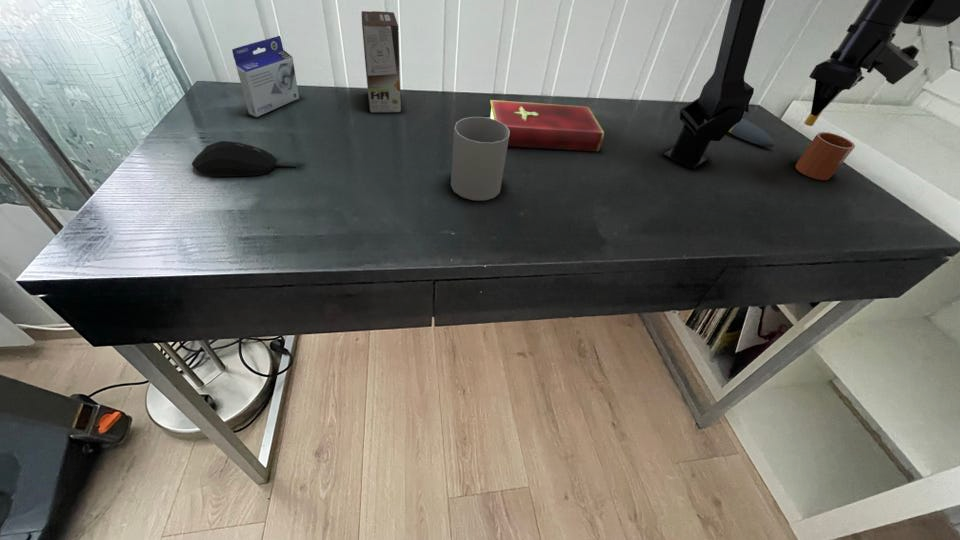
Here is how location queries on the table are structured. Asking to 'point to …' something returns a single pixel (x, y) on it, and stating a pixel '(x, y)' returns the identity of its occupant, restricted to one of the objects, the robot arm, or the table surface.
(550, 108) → the hardcover book
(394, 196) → the table surface
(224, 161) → the gaming mouse
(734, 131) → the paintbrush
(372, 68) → the coffee box
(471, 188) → the cup
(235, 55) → the ink box
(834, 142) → the pen cup
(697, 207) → the table surface
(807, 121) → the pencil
